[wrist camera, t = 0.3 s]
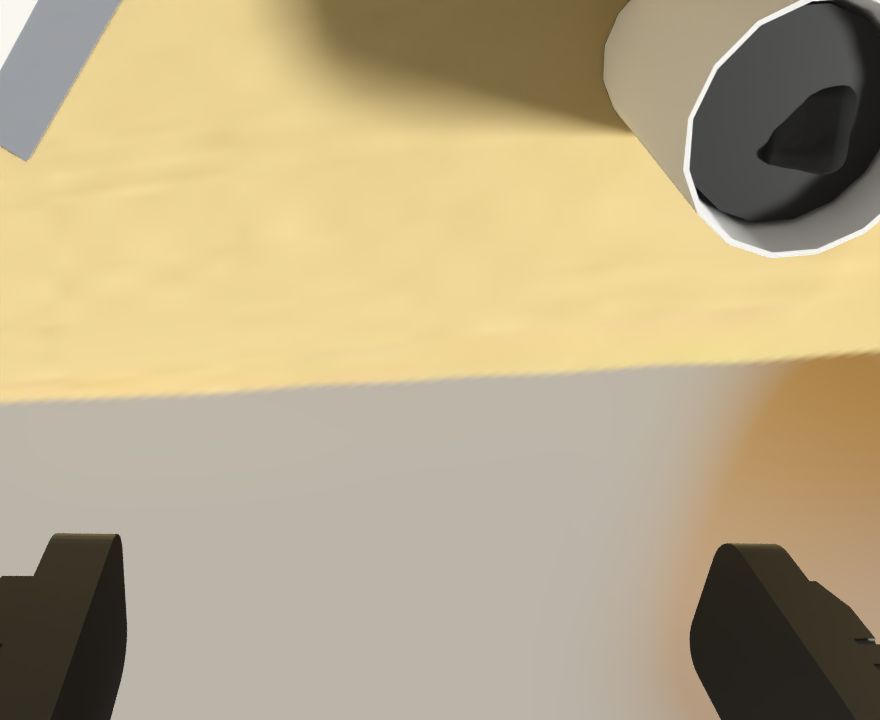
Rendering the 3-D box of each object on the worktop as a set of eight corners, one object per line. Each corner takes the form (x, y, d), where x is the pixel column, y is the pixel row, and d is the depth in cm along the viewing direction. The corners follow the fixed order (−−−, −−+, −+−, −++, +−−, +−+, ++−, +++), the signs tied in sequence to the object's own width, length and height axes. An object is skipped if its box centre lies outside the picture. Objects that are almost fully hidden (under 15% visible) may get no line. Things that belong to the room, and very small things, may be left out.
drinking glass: (804, -32, 28) (999, 10, 19) (741, 160, 31) (883, 270, 23) (616, -62, 27) (731, -32, 18) (571, 139, 30) (651, 245, 22)
